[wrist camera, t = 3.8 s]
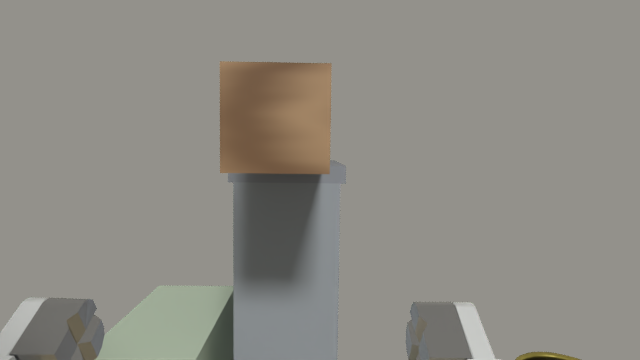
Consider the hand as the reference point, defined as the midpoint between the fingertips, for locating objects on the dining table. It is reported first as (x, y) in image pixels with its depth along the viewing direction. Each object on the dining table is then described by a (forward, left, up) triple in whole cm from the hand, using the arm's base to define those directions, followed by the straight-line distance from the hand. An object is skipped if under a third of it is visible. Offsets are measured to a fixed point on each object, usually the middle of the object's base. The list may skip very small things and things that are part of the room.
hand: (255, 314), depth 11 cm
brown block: (0, +16, +3) cm, 16 cm away
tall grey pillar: (0, +19, -23) cm, 30 cm away
